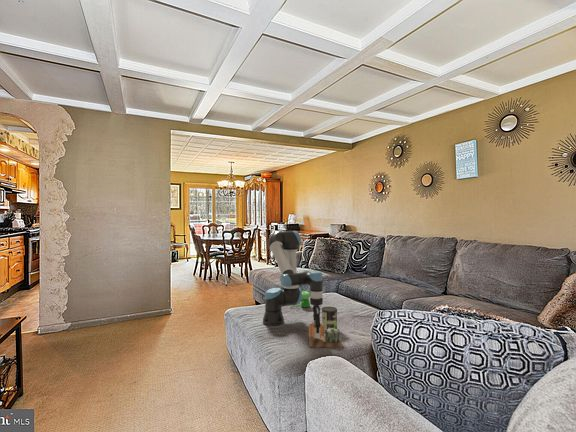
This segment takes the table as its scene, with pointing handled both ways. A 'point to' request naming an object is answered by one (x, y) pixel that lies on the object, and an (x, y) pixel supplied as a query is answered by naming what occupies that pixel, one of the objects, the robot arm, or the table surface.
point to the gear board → (327, 339)
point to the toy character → (304, 299)
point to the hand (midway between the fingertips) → (316, 334)
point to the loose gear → (312, 330)
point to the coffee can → (329, 317)
